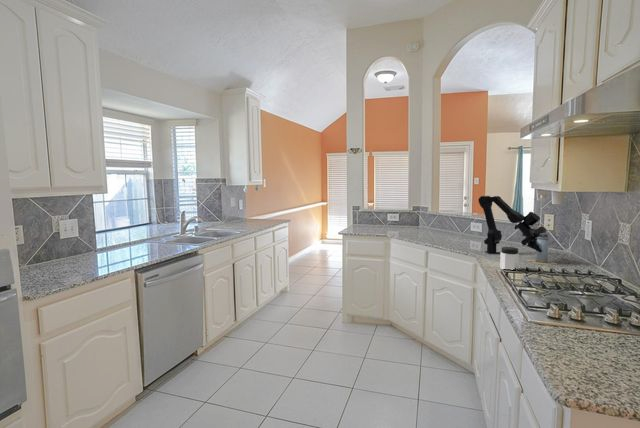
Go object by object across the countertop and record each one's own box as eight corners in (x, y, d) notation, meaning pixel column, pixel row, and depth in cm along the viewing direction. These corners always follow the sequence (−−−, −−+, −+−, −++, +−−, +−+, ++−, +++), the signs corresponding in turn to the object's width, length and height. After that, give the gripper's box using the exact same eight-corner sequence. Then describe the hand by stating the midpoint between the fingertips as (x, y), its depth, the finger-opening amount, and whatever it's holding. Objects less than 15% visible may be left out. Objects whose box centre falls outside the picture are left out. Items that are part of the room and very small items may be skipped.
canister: (533, 260, 210) (534, 234, 209) (543, 260, 211) (544, 234, 209) (539, 263, 204) (541, 236, 203) (550, 262, 204) (551, 236, 203)
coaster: (525, 260, 213) (525, 259, 213) (544, 260, 214) (544, 259, 214) (538, 265, 201) (538, 264, 201) (558, 265, 202) (558, 264, 202)
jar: (512, 272, 189) (513, 250, 188) (497, 269, 196) (498, 248, 195) (520, 269, 194) (521, 248, 193) (506, 266, 201) (506, 246, 199)
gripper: (526, 223, 204) (545, 245, 196) (545, 221, 213) (564, 241, 204) (513, 234, 212) (531, 256, 203) (532, 232, 221) (549, 252, 212)
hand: (544, 251), depth 205 cm, fingers closed on canister, 6 cm apart
